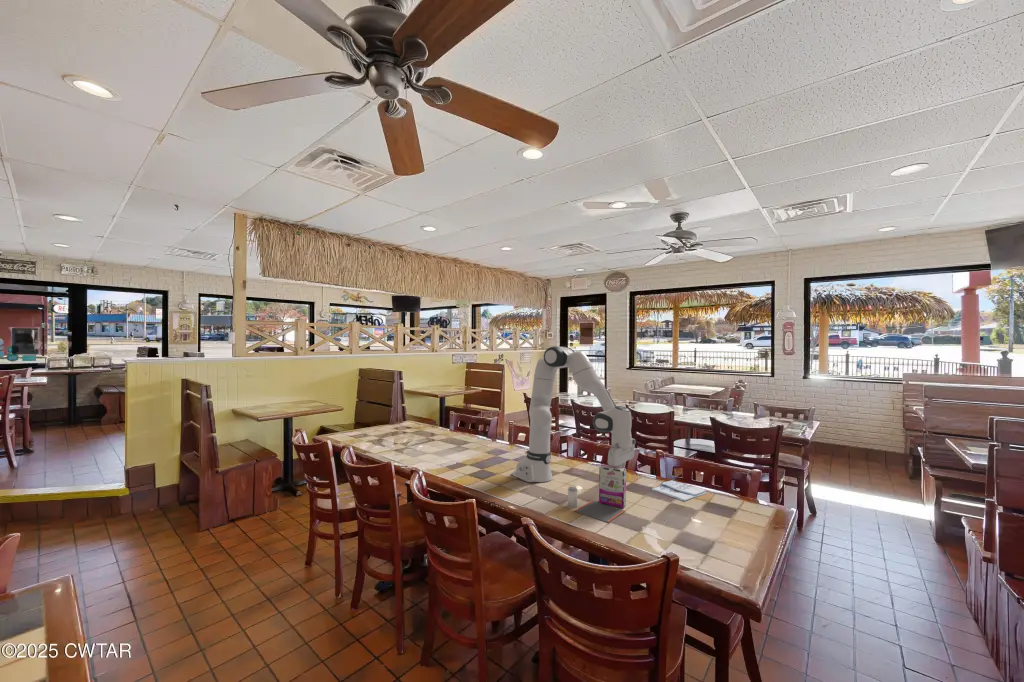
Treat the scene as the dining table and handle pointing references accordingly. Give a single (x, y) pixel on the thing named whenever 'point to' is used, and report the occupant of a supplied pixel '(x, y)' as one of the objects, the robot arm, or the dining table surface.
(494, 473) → the dining table surface
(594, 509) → the bar mat
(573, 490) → the salt shaker
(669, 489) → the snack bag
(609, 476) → the candy bar box
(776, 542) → the dining table surface
